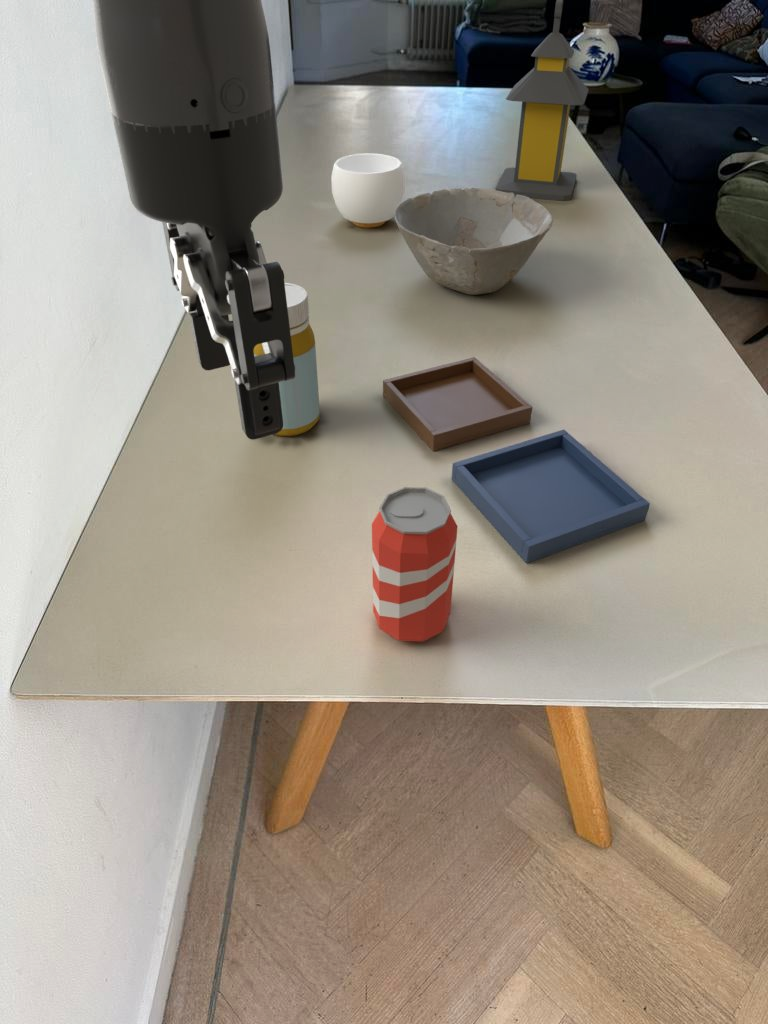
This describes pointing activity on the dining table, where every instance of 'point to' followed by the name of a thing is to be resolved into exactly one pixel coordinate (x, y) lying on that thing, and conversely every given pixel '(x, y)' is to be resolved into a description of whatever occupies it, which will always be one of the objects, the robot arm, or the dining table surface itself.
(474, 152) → the dining table surface
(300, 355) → the bottle
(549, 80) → the lantern
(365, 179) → the cup
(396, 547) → the beverage can
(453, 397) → the tray
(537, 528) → the tray
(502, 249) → the ceramic bowl
